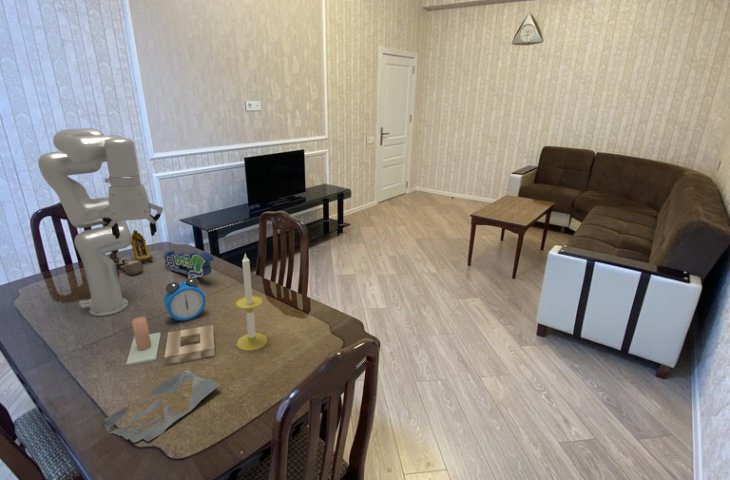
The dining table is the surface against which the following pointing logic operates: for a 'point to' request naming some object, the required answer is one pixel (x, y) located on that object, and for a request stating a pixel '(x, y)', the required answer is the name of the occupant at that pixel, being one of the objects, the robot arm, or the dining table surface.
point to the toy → (129, 266)
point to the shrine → (139, 247)
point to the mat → (145, 355)
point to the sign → (188, 263)
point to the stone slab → (200, 391)
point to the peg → (141, 333)
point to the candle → (250, 313)
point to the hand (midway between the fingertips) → (135, 236)
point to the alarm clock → (184, 299)
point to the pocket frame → (191, 352)
